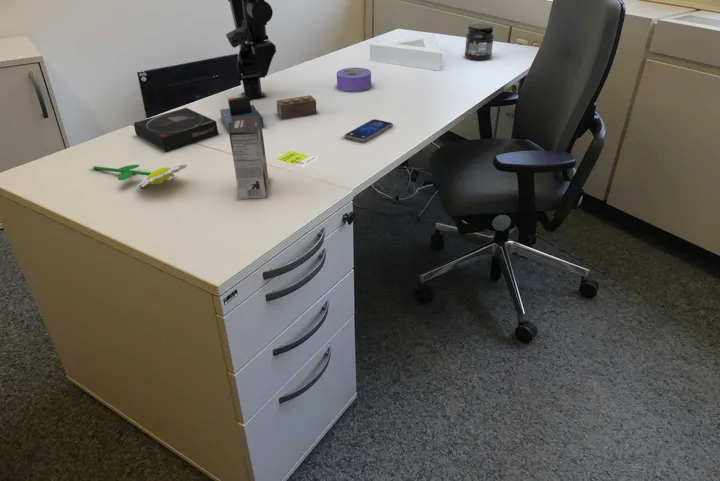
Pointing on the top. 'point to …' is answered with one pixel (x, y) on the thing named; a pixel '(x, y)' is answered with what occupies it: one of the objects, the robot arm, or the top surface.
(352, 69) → the tape roll
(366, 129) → the smartphone
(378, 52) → the triangle block
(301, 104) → the token holder
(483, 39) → the supplement container
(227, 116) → the dial panel
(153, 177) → the decorative flower
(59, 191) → the top surface
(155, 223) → the top surface
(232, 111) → the black block red tip
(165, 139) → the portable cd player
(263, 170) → the coffee box
